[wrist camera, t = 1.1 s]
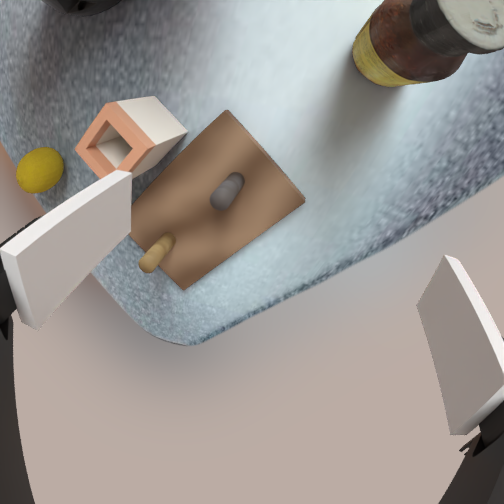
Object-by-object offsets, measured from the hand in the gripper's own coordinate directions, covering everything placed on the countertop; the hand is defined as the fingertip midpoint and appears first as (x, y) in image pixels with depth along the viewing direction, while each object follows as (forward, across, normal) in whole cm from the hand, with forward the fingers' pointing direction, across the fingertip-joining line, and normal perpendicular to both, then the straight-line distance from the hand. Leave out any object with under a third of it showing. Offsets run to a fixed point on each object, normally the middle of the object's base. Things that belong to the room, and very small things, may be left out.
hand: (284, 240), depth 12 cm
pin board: (+21, -9, -10) cm, 24 cm away
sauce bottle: (+21, +6, +11) cm, 24 cm away
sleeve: (+21, -16, -2) cm, 26 cm away
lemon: (+21, -30, -8) cm, 37 cm away
